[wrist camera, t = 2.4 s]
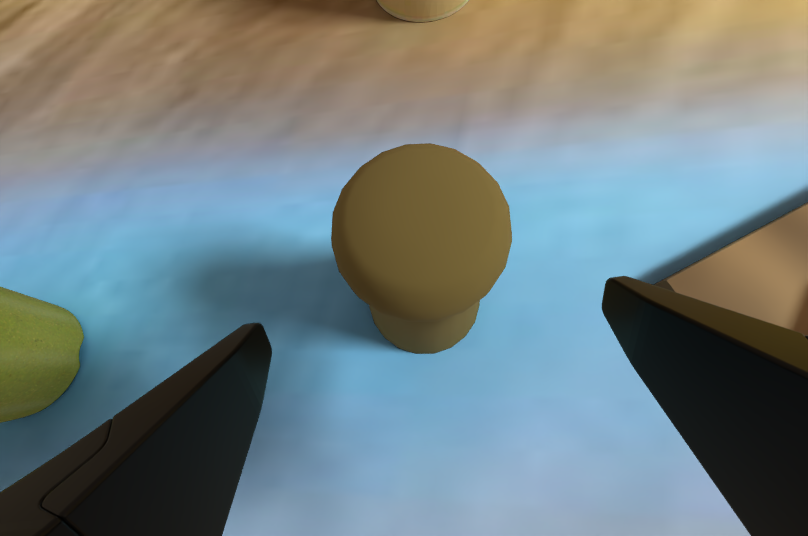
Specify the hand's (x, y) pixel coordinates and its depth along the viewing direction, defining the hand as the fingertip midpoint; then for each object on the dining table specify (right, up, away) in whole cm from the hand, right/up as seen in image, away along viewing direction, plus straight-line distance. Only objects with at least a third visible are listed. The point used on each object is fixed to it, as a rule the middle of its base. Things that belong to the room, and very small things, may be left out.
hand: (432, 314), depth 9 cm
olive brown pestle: (0, 0, +10) cm, 10 cm away
